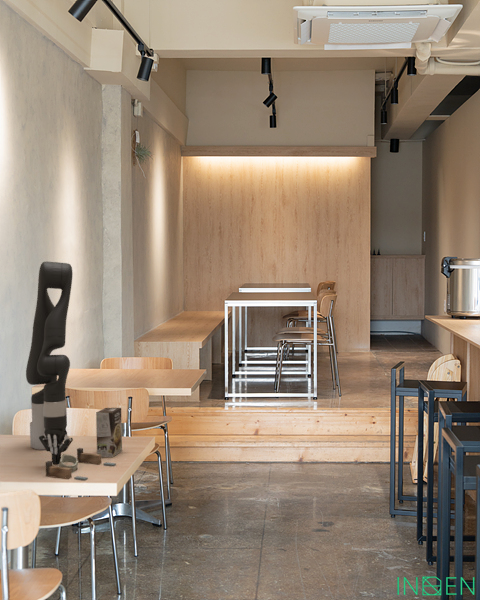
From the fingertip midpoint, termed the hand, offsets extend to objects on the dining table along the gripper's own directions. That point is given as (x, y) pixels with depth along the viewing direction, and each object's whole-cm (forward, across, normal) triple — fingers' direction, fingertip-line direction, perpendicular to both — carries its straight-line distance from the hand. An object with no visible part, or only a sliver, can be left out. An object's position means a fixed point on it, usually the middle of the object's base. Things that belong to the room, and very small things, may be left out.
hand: (56, 464), depth 218 cm
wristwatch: (+1, +6, -1) cm, 6 cm away
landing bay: (+1, +16, 0) cm, 16 cm away
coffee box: (+1, +8, +20) cm, 22 cm away
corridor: (+1, +7, 0) cm, 7 cm away
